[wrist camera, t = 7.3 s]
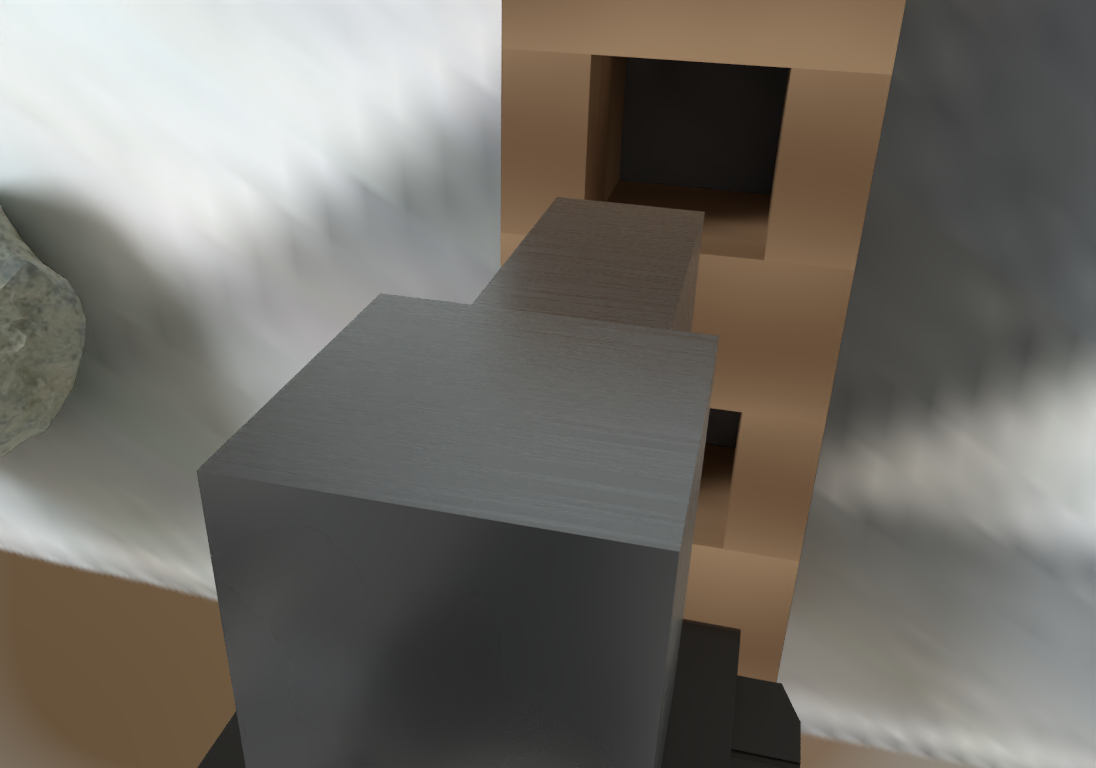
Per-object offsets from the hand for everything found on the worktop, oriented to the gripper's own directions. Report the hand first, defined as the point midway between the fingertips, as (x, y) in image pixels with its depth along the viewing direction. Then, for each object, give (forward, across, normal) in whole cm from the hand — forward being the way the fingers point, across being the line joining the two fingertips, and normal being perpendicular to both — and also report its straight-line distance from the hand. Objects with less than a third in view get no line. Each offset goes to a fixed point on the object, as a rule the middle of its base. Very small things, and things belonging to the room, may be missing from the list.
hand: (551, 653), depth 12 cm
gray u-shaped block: (+4, 0, 0) cm, 4 cm away
